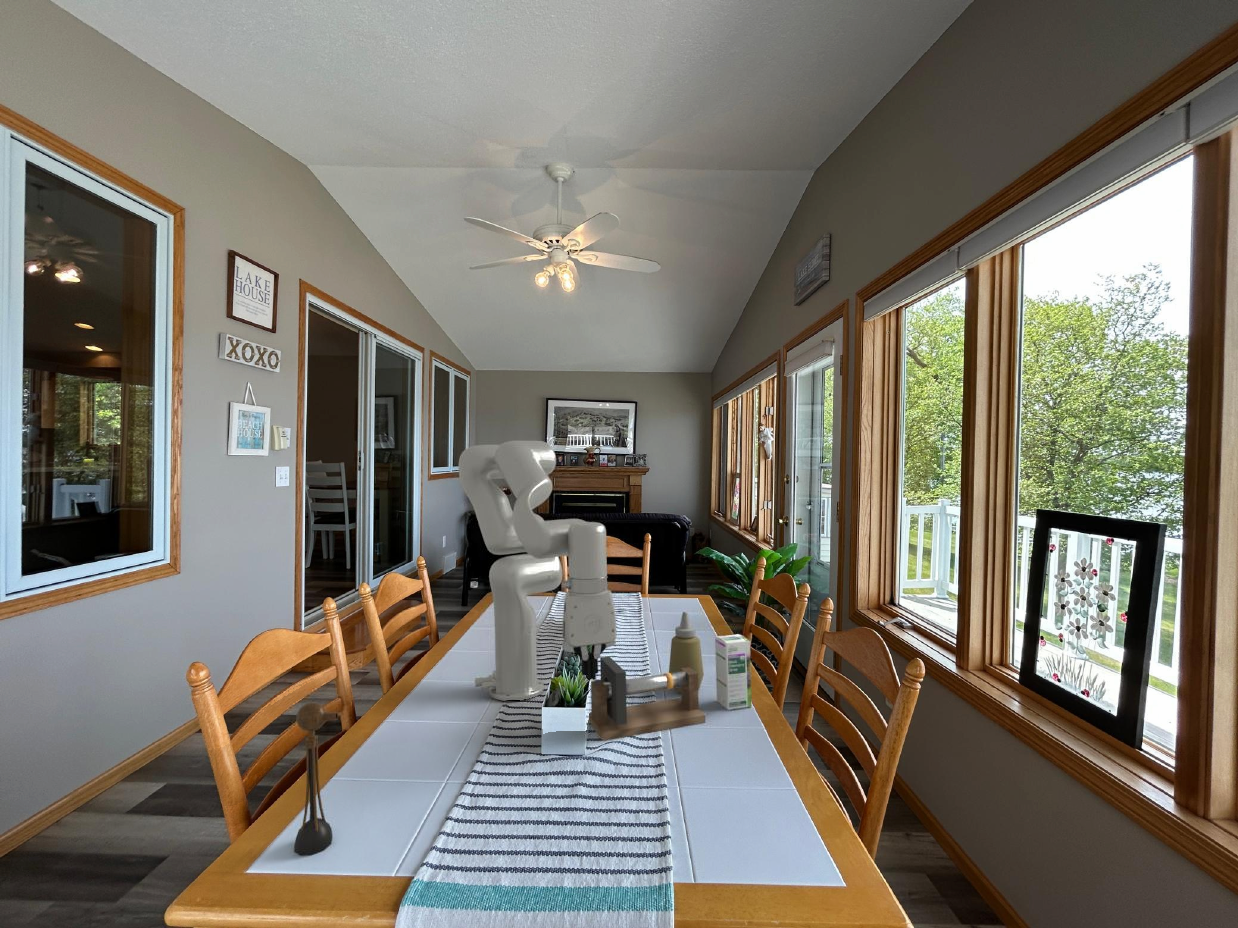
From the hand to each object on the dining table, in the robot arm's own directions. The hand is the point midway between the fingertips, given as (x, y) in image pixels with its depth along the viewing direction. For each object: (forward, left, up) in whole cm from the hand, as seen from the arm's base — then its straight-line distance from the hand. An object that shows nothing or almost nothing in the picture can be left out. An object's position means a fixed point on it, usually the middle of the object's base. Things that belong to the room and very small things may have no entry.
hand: (589, 677), depth 118 cm
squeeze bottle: (+27, +12, -11) cm, 31 cm away
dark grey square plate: (+5, 0, -8) cm, 9 cm away
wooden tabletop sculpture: (-46, -20, -11) cm, 51 cm away
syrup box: (+33, +1, -11) cm, 35 cm away
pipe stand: (+12, 0, -10) cm, 16 cm away
